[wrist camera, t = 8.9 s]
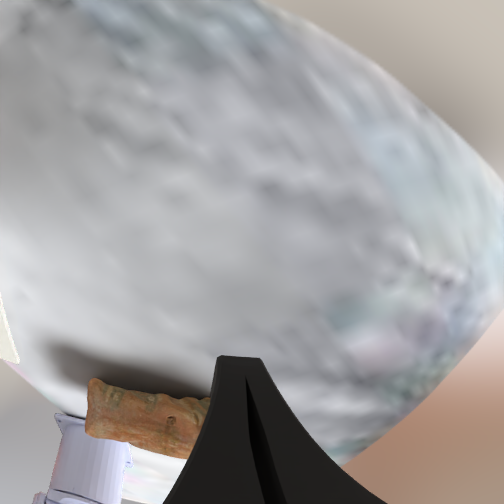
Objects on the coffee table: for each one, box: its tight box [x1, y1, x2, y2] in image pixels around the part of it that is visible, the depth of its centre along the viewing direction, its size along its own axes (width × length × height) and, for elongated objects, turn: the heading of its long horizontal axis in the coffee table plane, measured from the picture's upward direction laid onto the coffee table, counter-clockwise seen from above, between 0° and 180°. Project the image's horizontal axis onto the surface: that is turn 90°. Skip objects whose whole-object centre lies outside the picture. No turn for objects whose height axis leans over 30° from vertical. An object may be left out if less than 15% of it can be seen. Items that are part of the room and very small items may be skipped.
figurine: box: [85, 378, 210, 459], centre depth 22 cm, size 8×8×15 cm
